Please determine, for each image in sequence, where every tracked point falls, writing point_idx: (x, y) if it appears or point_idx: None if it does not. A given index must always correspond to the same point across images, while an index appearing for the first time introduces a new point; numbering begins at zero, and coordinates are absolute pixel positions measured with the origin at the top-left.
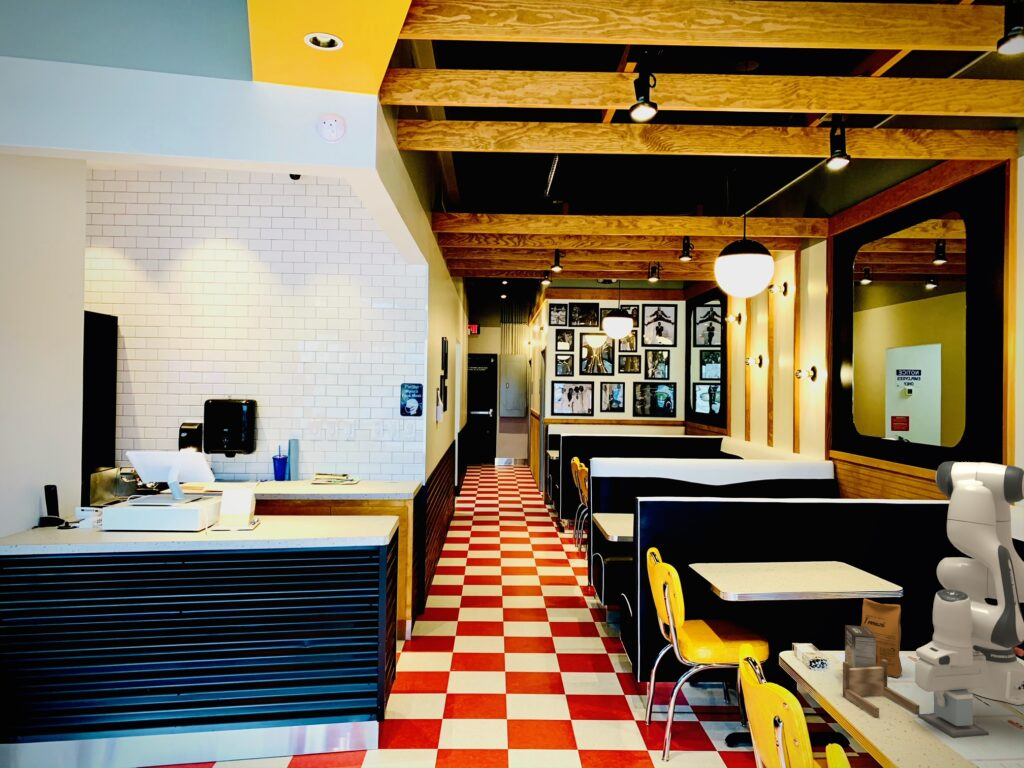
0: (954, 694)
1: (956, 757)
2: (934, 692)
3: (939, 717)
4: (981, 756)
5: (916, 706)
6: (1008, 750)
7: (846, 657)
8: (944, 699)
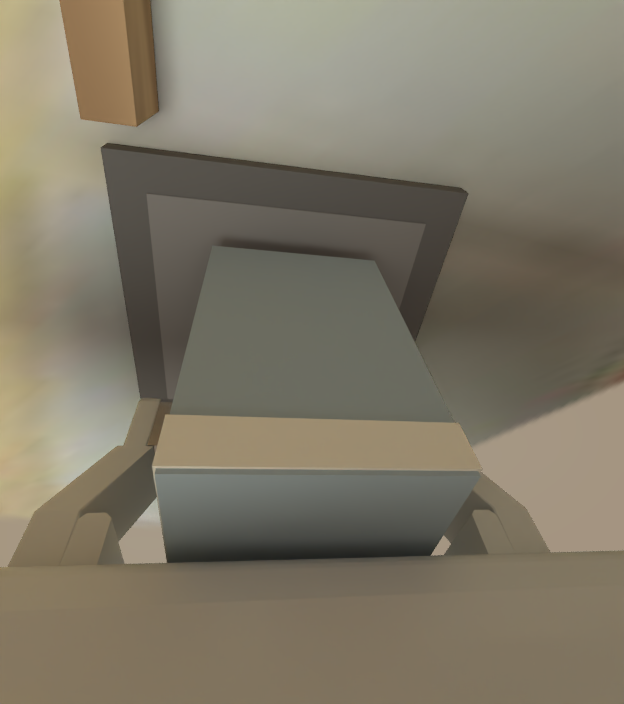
0: None
1: (20, 509)
2: (50, 505)
3: (260, 246)
4: (151, 513)
5: (96, 118)
6: None
7: None
8: (148, 503)
